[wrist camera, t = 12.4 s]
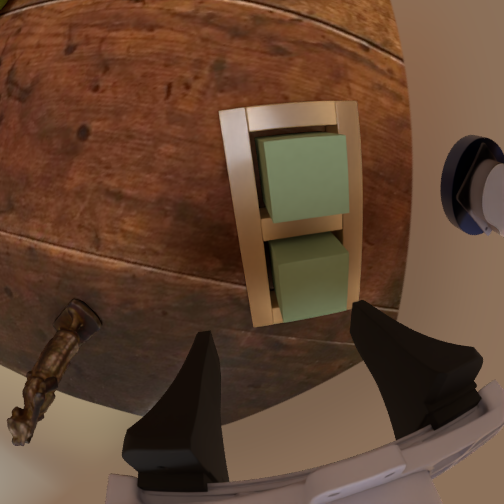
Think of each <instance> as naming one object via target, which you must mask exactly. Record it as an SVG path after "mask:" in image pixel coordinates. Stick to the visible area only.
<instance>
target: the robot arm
mask: <svg viewBox="0 0 504 504" xmlns="http://www.w3.org/2000/svg"><path fill="white" fill-rule="evenodd" d="M485 150H486V151H485ZM456 199H457V201H458V202H459V203H460V204H461V205H462V206H463V208H464V209H465V210H466V211H467V212H468V213H469V215H470V216H471V217H472V218H473V219H474V221H475V222H476V223H477V224H478V226H479V227H480V228H481V229H482V231H483V232H484V233H485V234H486V235H487V236H489V235H490V234H491V231H492V230H493V231H494V232H496V233H498V234H499V235H501V236H502V237H504V164H503V163H500V162H497V160H496V159H495V157H494V155H493V154H492V152H491V151H490V149H489V148H488V147H487V145H486V144H485V143H481V145H480V147H479V150H478V152H477V154H476V156H475V159H474V161H473V163H472V165H471V167H470V169H469V171H468V173H467V175H466V177H465V179H464V181H463V183H462V185H461V187H460V189H459V191H458V193H457V195H456ZM350 334H351V336H352V339H353V341H354V344H355V346H356V348H357V350H358V352H359V353H360V355H361V357H362V359H363V360H364V362H365V364H366V365H367V367H368V369H369V371H370V372H371V374H372V376H373V378H374V379H375V381H376V383H377V385H378V388H379V390H380V392H381V395H382V398H383V400H384V403H385V406H386V408H387V411H388V414H389V417H390V421H391V424H392V427H393V430H394V435H395V438H396V441H394V442H391V443H389V444H386V445H384V446H381V447H379V448H376V449H373V450H371V451H368V452H365V453H362V454H360V455H356V456H353V457H350V458H347V459H344V460H341V461H337V462H334V463H330V464H327V465H323V466H320V467H316V468H312V469H307V470H303V471H299V472H294V473H289V474H284V475H278V476H272V477H267V478H259V479H252V480H244V481H234V482H229V477H228V471H227V466H226V459H225V452H224V445H223V438H222V429H221V416H220V405H221V372H220V362H219V357H218V354H217V350H216V347H215V344H214V341H213V337H212V334H211V331H204V332H198V333H197V335H196V337H195V340H194V343H193V345H192V347H191V350H190V352H189V354H188V356H187V358H186V360H185V362H184V364H183V366H182V368H181V369H180V371H179V373H178V375H177V376H176V378H175V380H174V381H173V383H172V384H171V386H170V387H169V388H168V390H167V391H166V392H165V394H164V395H163V396H162V397H161V399H160V400H159V401H158V402H157V403H156V405H155V406H154V407H153V408H152V409H151V410H150V411H149V412H148V413H147V414H146V415H145V416H144V417H142V418H141V419H140V420H139V421H138V422H136V423H135V424H134V425H133V426H132V427H130V428H129V429H127V432H126V435H125V439H124V444H123V450H122V457H123V459H124V460H125V461H126V462H127V463H128V464H129V465H130V466H132V467H133V468H134V469H135V470H136V471H138V478H136V477H133V476H128V475H119V474H109V478H108V485H107V493H106V501H105V504H443V503H442V501H441V498H440V496H439V494H438V492H437V489H436V487H435V485H434V483H433V481H432V479H434V478H435V477H437V476H439V475H440V474H442V473H444V472H445V471H447V470H448V469H450V468H451V467H453V466H454V465H456V464H457V463H459V462H460V461H461V460H463V459H464V458H466V457H467V456H468V455H470V454H471V453H473V452H474V451H476V450H477V449H478V448H479V447H481V446H482V445H484V444H485V443H486V442H487V441H489V440H490V439H491V438H492V437H494V436H495V435H496V434H497V433H498V432H499V431H500V430H501V429H502V428H503V427H504V390H503V389H502V387H501V386H500V385H499V383H498V382H497V381H496V380H493V381H492V382H490V383H489V384H487V385H486V386H484V387H483V388H482V389H481V390H479V392H477V391H476V389H475V388H476V387H477V385H476V383H475V382H474V380H475V378H476V376H477V374H478V373H479V371H480V369H481V367H482V364H483V357H482V356H481V355H480V354H479V353H478V352H477V351H476V349H475V348H474V347H469V346H461V345H456V344H452V343H447V342H443V341H440V340H437V339H434V338H431V337H428V336H426V335H423V334H421V333H419V332H416V331H414V330H412V329H409V328H408V327H406V326H404V325H403V324H401V323H399V322H397V321H395V320H394V319H392V318H391V317H389V316H387V315H386V314H384V313H383V312H381V311H380V310H378V309H377V308H375V307H373V306H372V305H370V304H369V303H367V302H366V301H364V300H361V301H357V302H353V303H352V315H351V326H350Z"/></svg>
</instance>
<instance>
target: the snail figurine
mask: <svg viewBox="0 0 504 504" xmlns="http://www.w3.org/2000/svg"><path fill="white" fill-rule="evenodd" d="M7 1H8V0H0V10H1V9H2V8H3V7H4V5H5V4H6V3H7Z"/></svg>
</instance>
